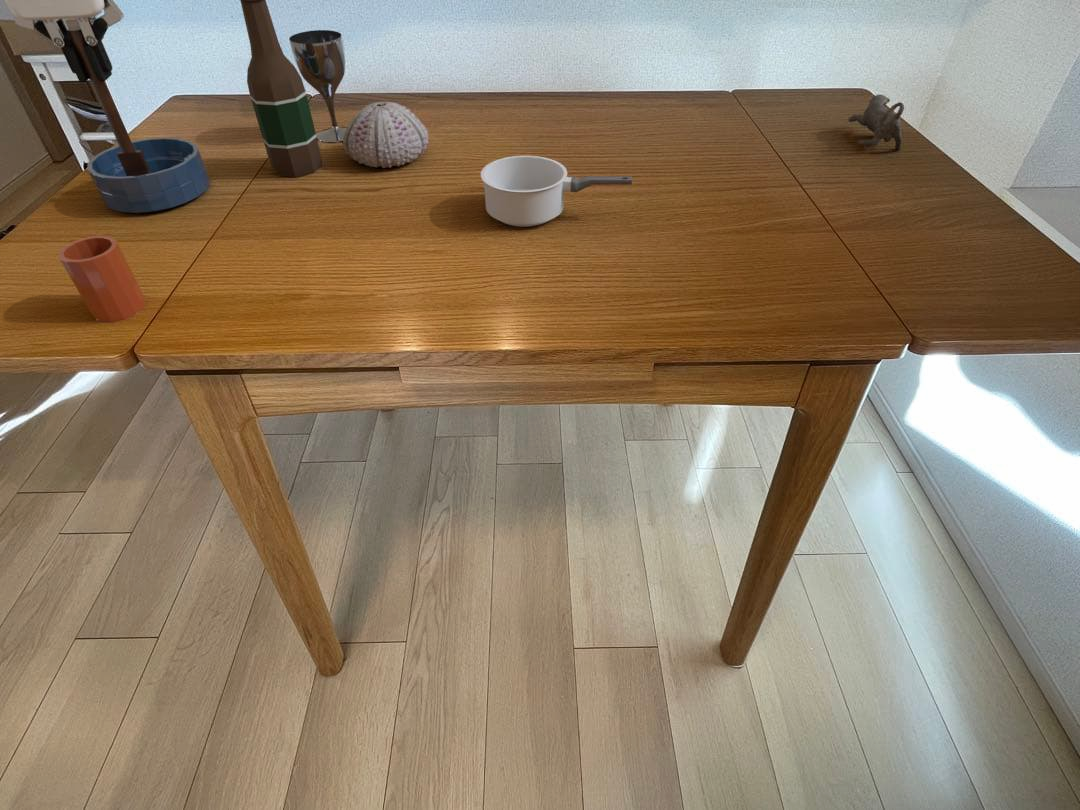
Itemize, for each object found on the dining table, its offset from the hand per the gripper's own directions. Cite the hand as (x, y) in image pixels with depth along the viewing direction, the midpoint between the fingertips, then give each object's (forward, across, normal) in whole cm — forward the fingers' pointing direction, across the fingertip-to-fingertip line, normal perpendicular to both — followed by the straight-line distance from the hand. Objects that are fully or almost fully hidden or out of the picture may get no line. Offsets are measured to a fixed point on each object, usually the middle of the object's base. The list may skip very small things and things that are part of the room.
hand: (96, 77), depth 83 cm
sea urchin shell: (+17, +34, +9) cm, 39 cm away
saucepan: (+17, +57, -15) cm, 61 cm away
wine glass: (+17, +25, +20) cm, 36 cm away
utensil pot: (+16, +5, -30) cm, 34 cm away
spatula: (+15, 0, 0) cm, 15 cm away
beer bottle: (+17, +20, +7) cm, 27 cm away
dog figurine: (+17, +113, +1) cm, 114 cm away
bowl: (+16, +1, +1) cm, 16 cm away
